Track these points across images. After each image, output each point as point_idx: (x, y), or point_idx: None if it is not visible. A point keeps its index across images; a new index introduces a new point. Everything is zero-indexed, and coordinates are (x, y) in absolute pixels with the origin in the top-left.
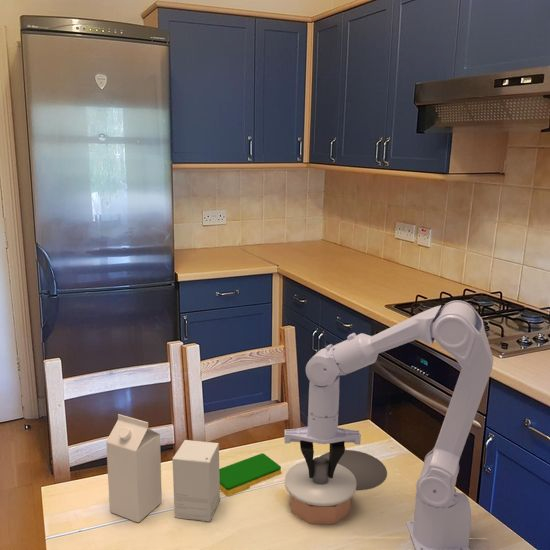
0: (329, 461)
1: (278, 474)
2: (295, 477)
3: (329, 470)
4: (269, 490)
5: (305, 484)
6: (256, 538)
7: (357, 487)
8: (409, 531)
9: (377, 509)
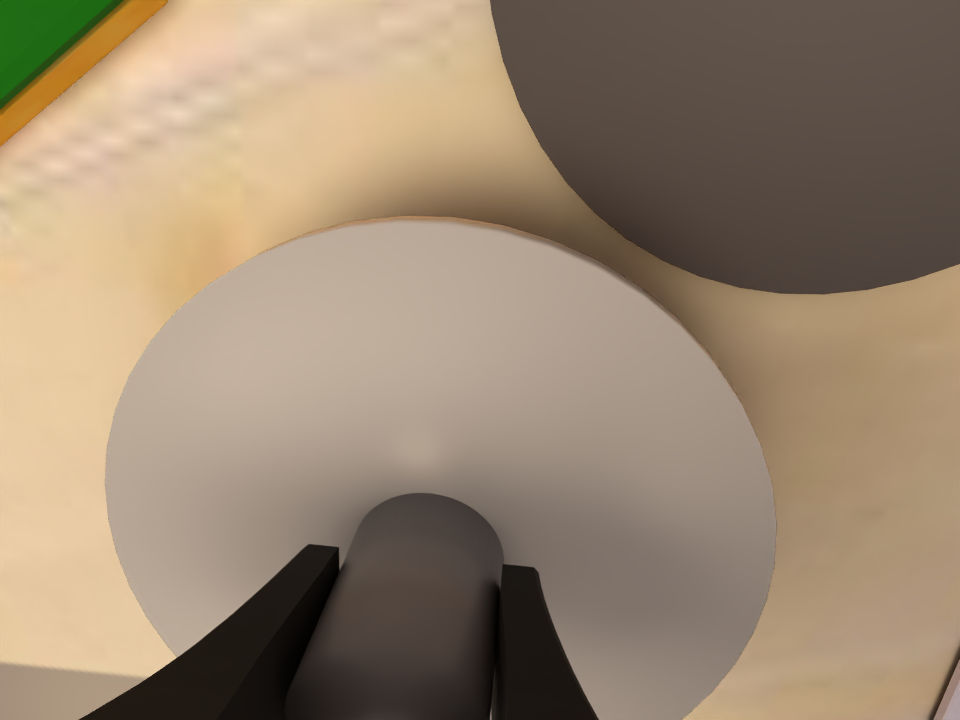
0: (502, 684)
1: (142, 14)
2: (200, 503)
3: (494, 689)
4: (106, 227)
5: None
6: (103, 634)
7: (811, 254)
8: (947, 703)
9: (853, 487)
